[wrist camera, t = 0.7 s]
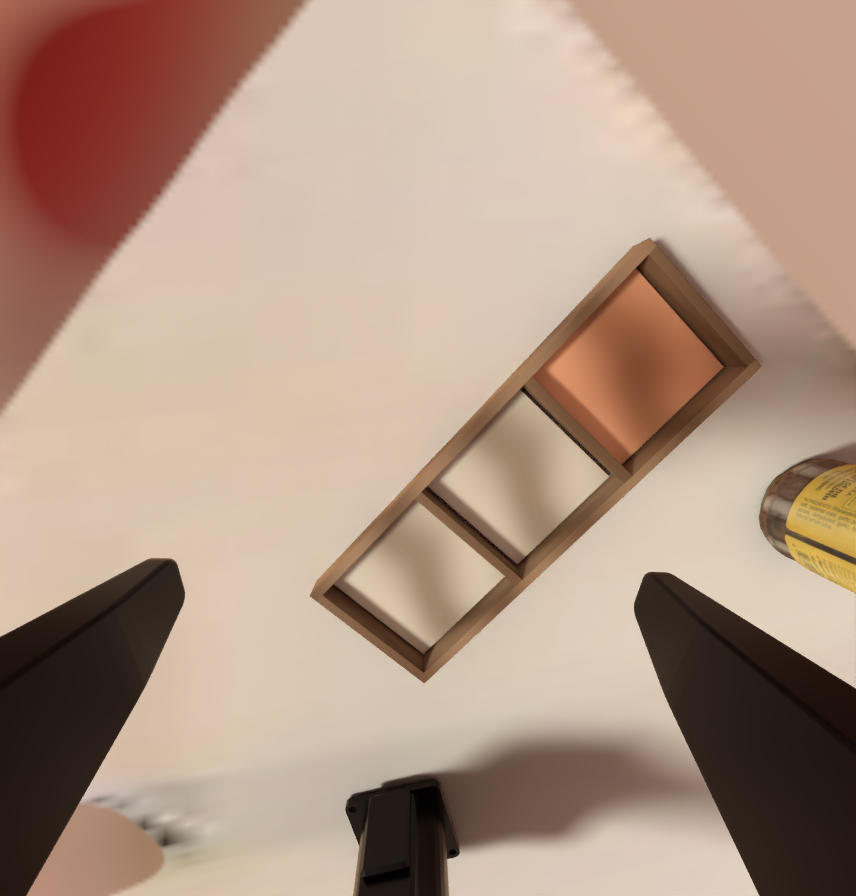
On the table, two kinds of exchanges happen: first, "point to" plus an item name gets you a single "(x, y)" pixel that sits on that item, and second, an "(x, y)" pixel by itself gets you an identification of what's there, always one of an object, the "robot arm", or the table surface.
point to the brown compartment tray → (538, 463)
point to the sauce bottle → (815, 518)
